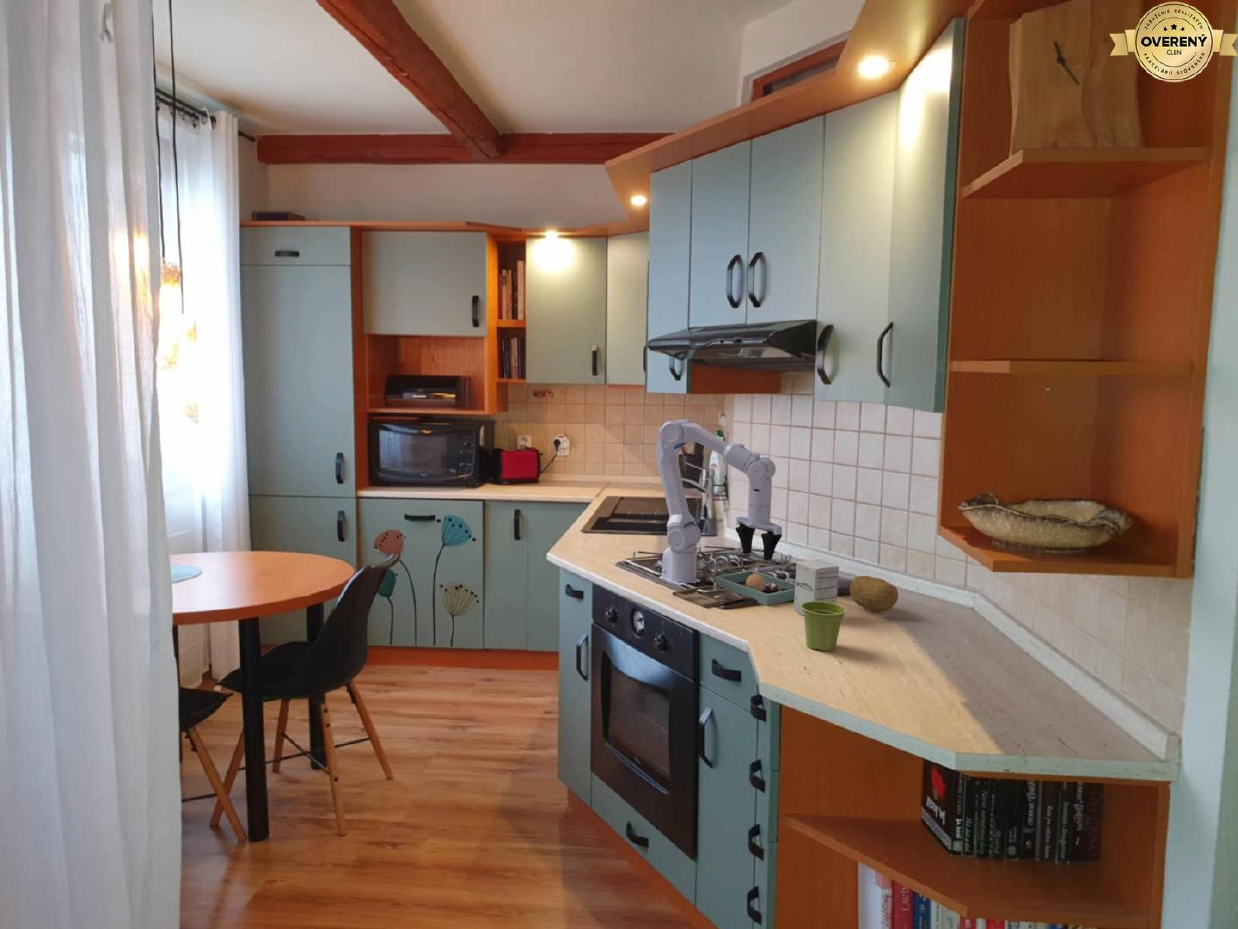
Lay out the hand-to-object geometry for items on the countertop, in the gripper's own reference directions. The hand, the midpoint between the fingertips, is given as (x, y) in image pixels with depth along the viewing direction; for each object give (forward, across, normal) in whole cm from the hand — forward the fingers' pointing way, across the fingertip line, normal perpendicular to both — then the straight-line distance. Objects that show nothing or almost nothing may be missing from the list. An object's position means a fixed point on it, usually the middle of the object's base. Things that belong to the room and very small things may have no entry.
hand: (757, 556), depth 213 cm
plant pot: (+10, +36, -16) cm, 41 cm away
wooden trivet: (+10, -3, -14) cm, 17 cm away
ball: (+10, 0, 0) cm, 10 cm away
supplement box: (+10, +20, 0) cm, 22 cm away
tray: (+10, 0, +1) cm, 10 cm away
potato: (+10, +25, +15) cm, 31 cm away
